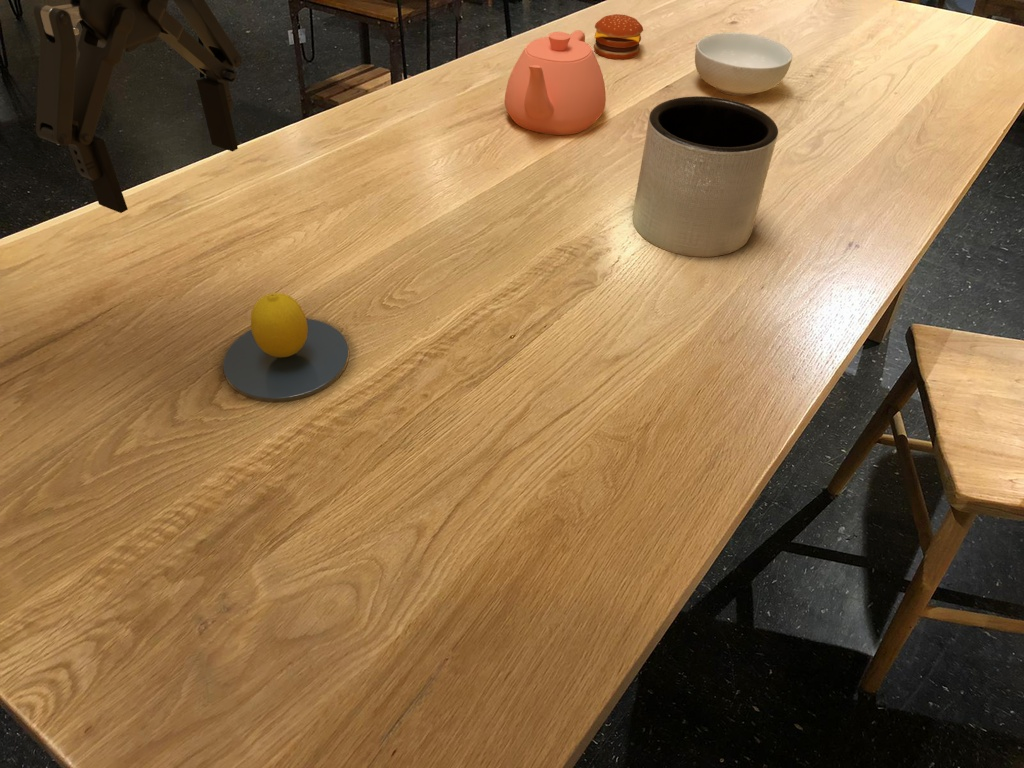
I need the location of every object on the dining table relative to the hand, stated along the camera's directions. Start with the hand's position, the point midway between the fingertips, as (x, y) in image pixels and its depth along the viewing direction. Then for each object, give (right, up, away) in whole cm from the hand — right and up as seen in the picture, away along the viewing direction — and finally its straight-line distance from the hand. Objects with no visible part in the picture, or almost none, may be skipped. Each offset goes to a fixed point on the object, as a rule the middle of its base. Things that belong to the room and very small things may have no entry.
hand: (172, 175), depth 72 cm
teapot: (+39, +25, +58) cm, 74 cm away
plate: (+8, -18, +11) cm, 22 cm away
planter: (+56, +1, +33) cm, 65 cm away
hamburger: (+53, +47, +82) cm, 108 cm away
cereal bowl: (+73, +35, +70) cm, 107 cm away
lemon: (+8, -17, +10) cm, 21 cm away
